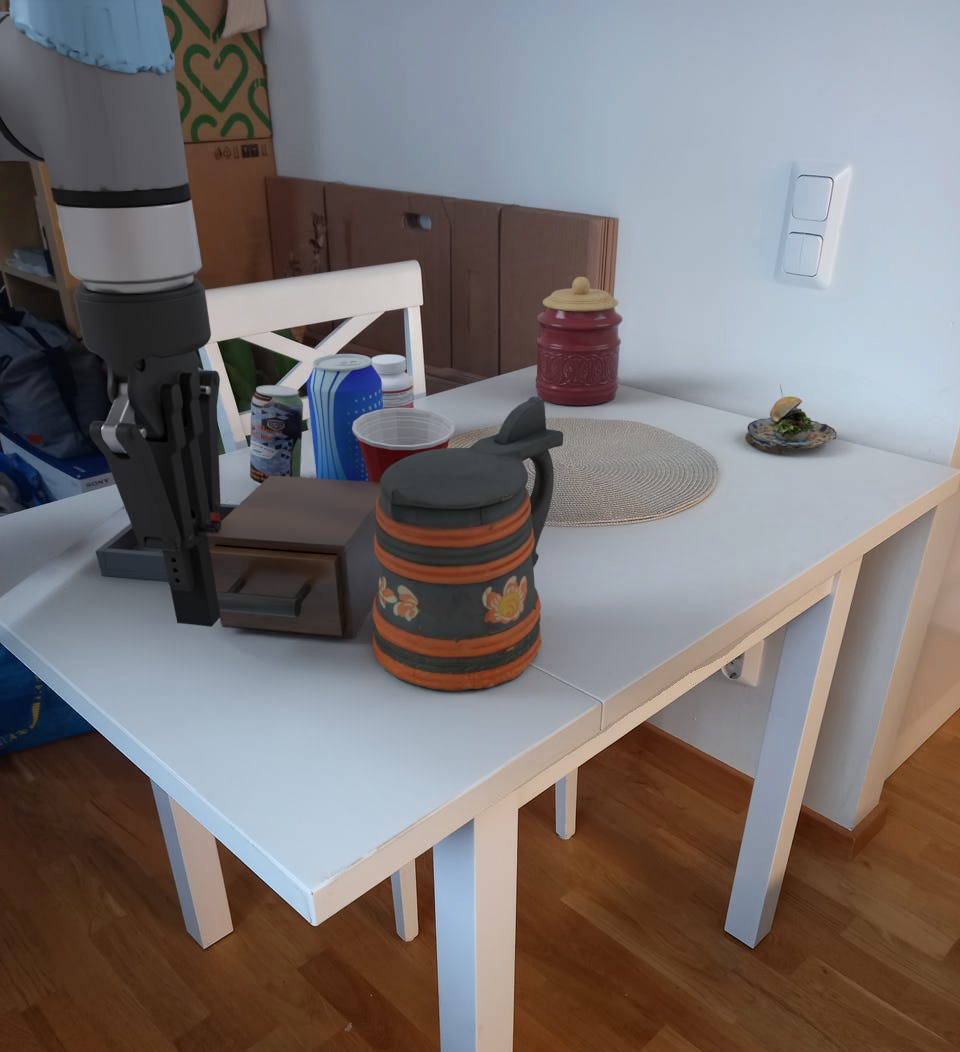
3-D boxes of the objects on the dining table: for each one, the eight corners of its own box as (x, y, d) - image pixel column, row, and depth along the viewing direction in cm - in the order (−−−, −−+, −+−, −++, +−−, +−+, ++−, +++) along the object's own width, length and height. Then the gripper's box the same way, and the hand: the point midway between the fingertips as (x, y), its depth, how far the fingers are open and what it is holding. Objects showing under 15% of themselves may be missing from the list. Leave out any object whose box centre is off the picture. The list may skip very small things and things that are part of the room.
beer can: (360, 514, 106) (348, 374, 98) (304, 500, 110) (288, 364, 102) (402, 490, 112) (395, 357, 104) (348, 478, 116) (336, 348, 108)
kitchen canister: (627, 404, 141) (636, 283, 132) (543, 409, 140) (547, 286, 131) (605, 382, 152) (612, 268, 143) (528, 385, 151) (530, 271, 142)
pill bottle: (371, 432, 132) (366, 353, 126) (414, 431, 132) (411, 352, 126) (370, 446, 126) (364, 365, 121) (415, 445, 127) (411, 363, 121)
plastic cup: (393, 557, 96) (385, 446, 90) (342, 523, 104) (332, 419, 98) (477, 531, 102) (475, 425, 96) (423, 501, 109) (418, 400, 103)
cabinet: (353, 638, 82) (344, 546, 78) (221, 626, 84) (205, 535, 80) (397, 566, 95) (391, 482, 90) (281, 557, 97) (270, 475, 92)
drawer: (325, 662, 77) (316, 584, 74) (199, 649, 79) (184, 573, 76) (384, 568, 92) (379, 500, 89) (277, 559, 94) (268, 492, 90)
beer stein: (477, 575, 93) (475, 375, 82) (601, 620, 85) (615, 405, 74) (338, 653, 80) (315, 429, 70) (468, 715, 72) (463, 471, 62)
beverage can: (243, 484, 115) (228, 388, 108) (294, 470, 119) (283, 377, 113) (267, 499, 111) (254, 399, 104) (320, 484, 115) (310, 387, 108)
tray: (101, 575, 94) (95, 550, 92) (165, 522, 105) (161, 499, 104) (226, 586, 91) (222, 561, 90) (278, 530, 103) (275, 507, 101)
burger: (782, 463, 119) (792, 405, 115) (726, 436, 128) (733, 382, 124) (855, 449, 123) (866, 393, 119) (795, 424, 132) (804, 371, 129)
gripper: (135, 258, 61) (191, 574, 74) (14, 298, 50) (104, 661, 63) (241, 263, 60) (280, 583, 72) (141, 305, 49) (207, 674, 62)
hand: (198, 619), depth 68 cm, fingers closed
